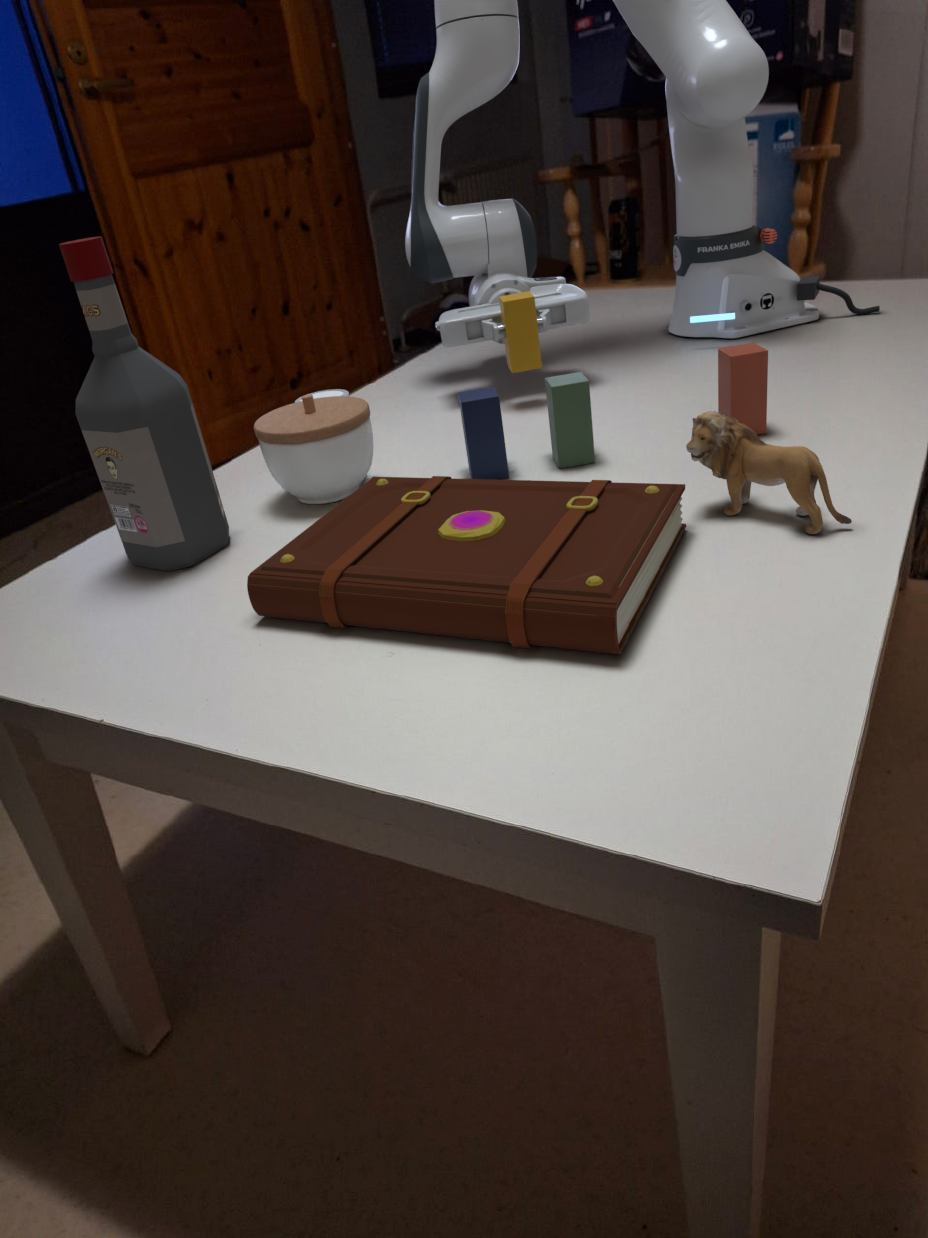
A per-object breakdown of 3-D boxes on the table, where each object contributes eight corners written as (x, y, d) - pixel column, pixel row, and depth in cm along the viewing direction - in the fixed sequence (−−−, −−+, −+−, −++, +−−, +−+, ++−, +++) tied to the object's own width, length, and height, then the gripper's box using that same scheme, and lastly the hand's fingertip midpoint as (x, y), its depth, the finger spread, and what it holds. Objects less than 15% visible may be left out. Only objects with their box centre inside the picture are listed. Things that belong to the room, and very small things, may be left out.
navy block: (504, 465, 101) (494, 386, 96) (509, 477, 97) (499, 395, 93) (469, 471, 101) (457, 392, 96) (473, 483, 97) (461, 402, 93)
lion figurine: (678, 514, 83) (676, 419, 79) (705, 492, 86) (704, 401, 82) (839, 540, 74) (846, 435, 70) (863, 516, 77) (871, 414, 73)
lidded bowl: (401, 470, 104) (383, 375, 99) (355, 514, 94) (333, 412, 89) (306, 471, 109) (284, 381, 103) (253, 514, 99) (225, 417, 93)
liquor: (179, 576, 87) (68, 247, 72) (118, 564, 92) (3, 253, 77) (244, 536, 93) (155, 227, 79) (185, 527, 98) (90, 234, 84)
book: (382, 514, 93) (373, 468, 91) (687, 527, 80) (685, 475, 78) (254, 623, 76) (239, 571, 74) (616, 664, 63) (612, 602, 60)
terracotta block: (752, 422, 101) (754, 341, 97) (766, 433, 98) (768, 350, 93) (718, 428, 101) (717, 348, 97) (730, 439, 98) (730, 356, 93)
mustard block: (537, 360, 120) (529, 290, 115) (542, 367, 116) (534, 295, 112) (507, 366, 120) (498, 296, 115) (511, 373, 116) (502, 301, 112)
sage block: (587, 450, 101) (581, 371, 97) (595, 462, 98) (589, 380, 93) (552, 456, 101) (544, 377, 97) (559, 468, 97) (551, 386, 93)
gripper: (430, 299, 125) (437, 318, 113) (574, 273, 125) (596, 289, 113) (437, 345, 128) (445, 368, 116) (578, 320, 128) (600, 340, 116)
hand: (521, 329), depth 115 cm, fingers closed on mustard block, 4 cm apart
